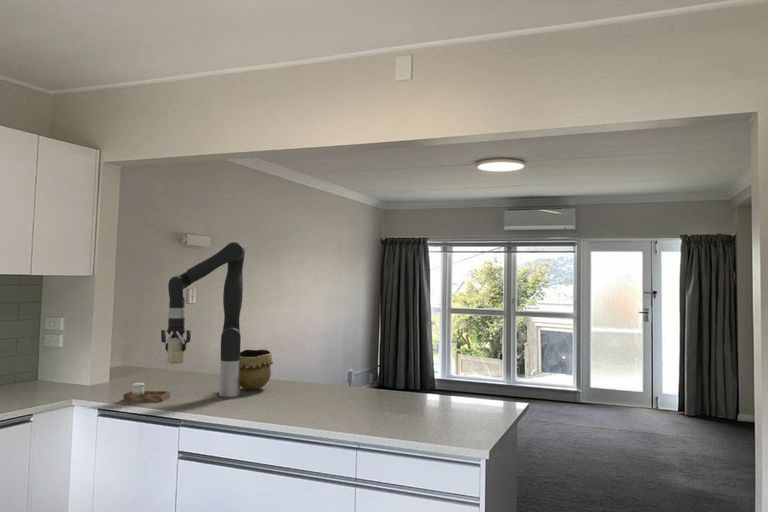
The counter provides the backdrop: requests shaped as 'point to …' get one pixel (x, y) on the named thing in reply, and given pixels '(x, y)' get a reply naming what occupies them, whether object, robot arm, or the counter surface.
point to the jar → (138, 388)
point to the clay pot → (255, 368)
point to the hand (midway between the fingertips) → (175, 351)
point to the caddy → (148, 396)
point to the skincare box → (175, 351)
